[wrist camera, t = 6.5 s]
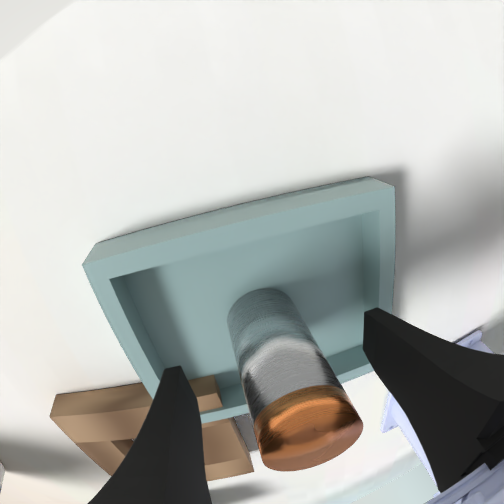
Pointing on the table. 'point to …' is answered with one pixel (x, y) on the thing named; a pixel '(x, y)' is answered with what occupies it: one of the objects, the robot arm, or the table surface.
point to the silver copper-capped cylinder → (288, 384)
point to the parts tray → (249, 280)
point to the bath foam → (1, 474)
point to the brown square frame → (130, 422)
